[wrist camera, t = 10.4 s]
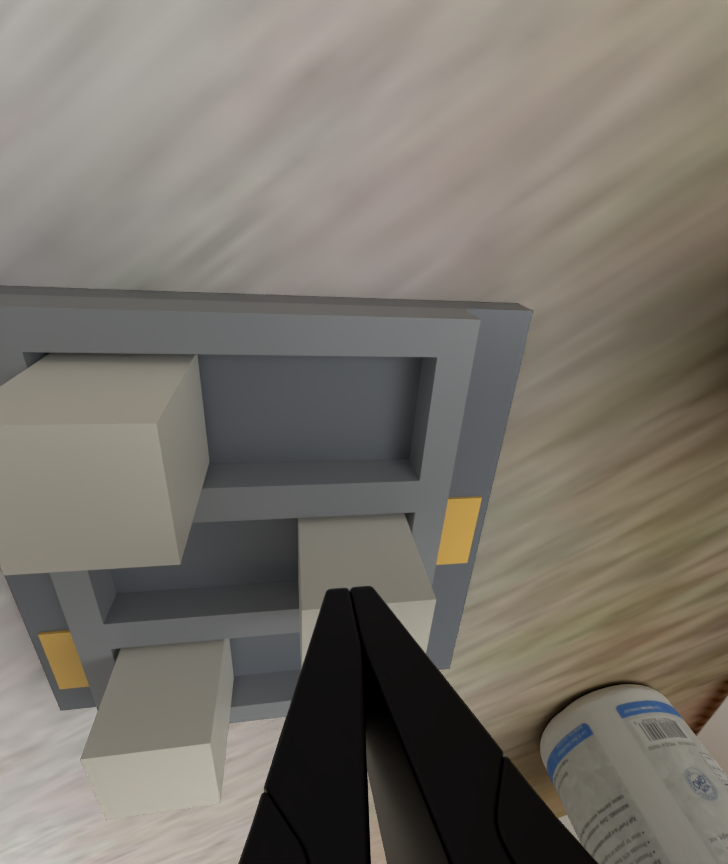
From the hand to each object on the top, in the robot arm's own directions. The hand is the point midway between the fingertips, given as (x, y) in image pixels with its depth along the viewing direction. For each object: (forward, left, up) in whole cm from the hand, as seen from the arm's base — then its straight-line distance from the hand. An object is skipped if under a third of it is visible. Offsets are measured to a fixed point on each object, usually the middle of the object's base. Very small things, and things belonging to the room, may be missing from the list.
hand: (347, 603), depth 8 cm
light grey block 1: (+6, +12, -8) cm, 16 cm away
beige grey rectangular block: (+6, 0, -8) cm, 10 cm away
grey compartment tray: (+2, +6, -10) cm, 12 cm away
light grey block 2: (-1, +6, -8) cm, 10 cm away
